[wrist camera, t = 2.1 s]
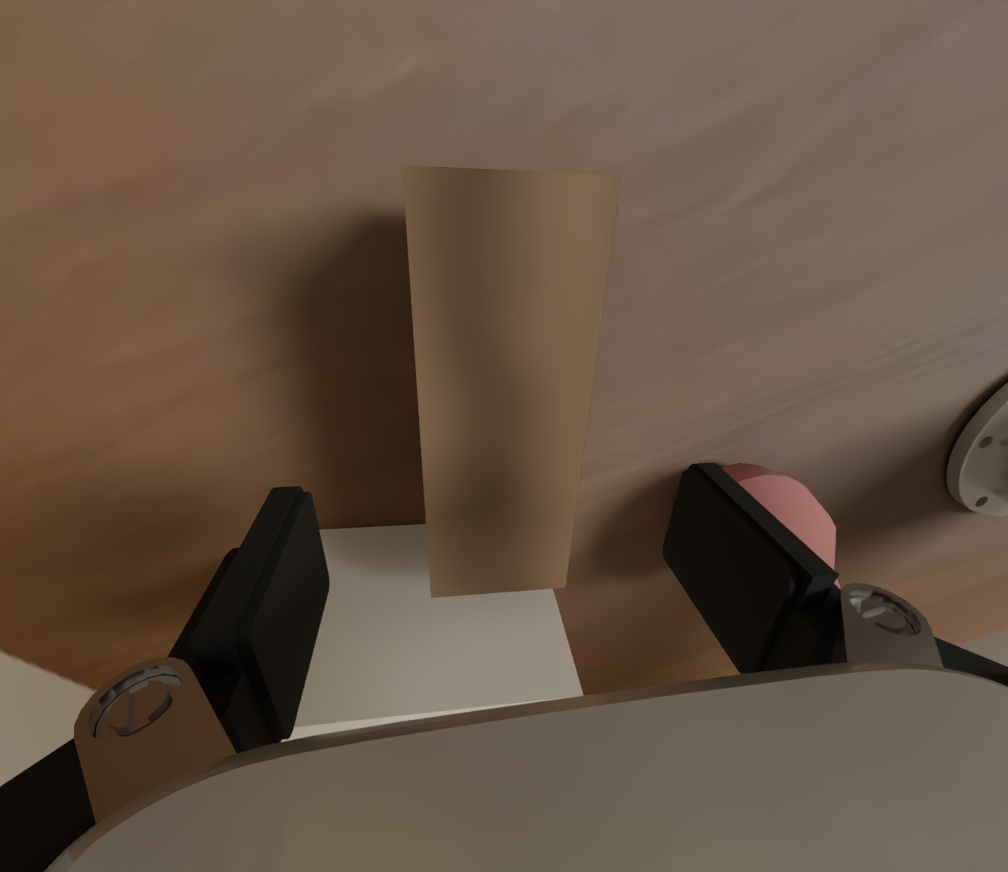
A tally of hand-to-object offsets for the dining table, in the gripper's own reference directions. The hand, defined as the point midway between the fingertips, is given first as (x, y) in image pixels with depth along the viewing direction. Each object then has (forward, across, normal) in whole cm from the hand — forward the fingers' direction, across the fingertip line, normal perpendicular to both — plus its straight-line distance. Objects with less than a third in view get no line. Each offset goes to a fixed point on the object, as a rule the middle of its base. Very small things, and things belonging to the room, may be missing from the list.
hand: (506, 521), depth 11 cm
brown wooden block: (+10, -1, 0) cm, 10 cm away
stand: (+12, +3, +21) cm, 25 cm away
